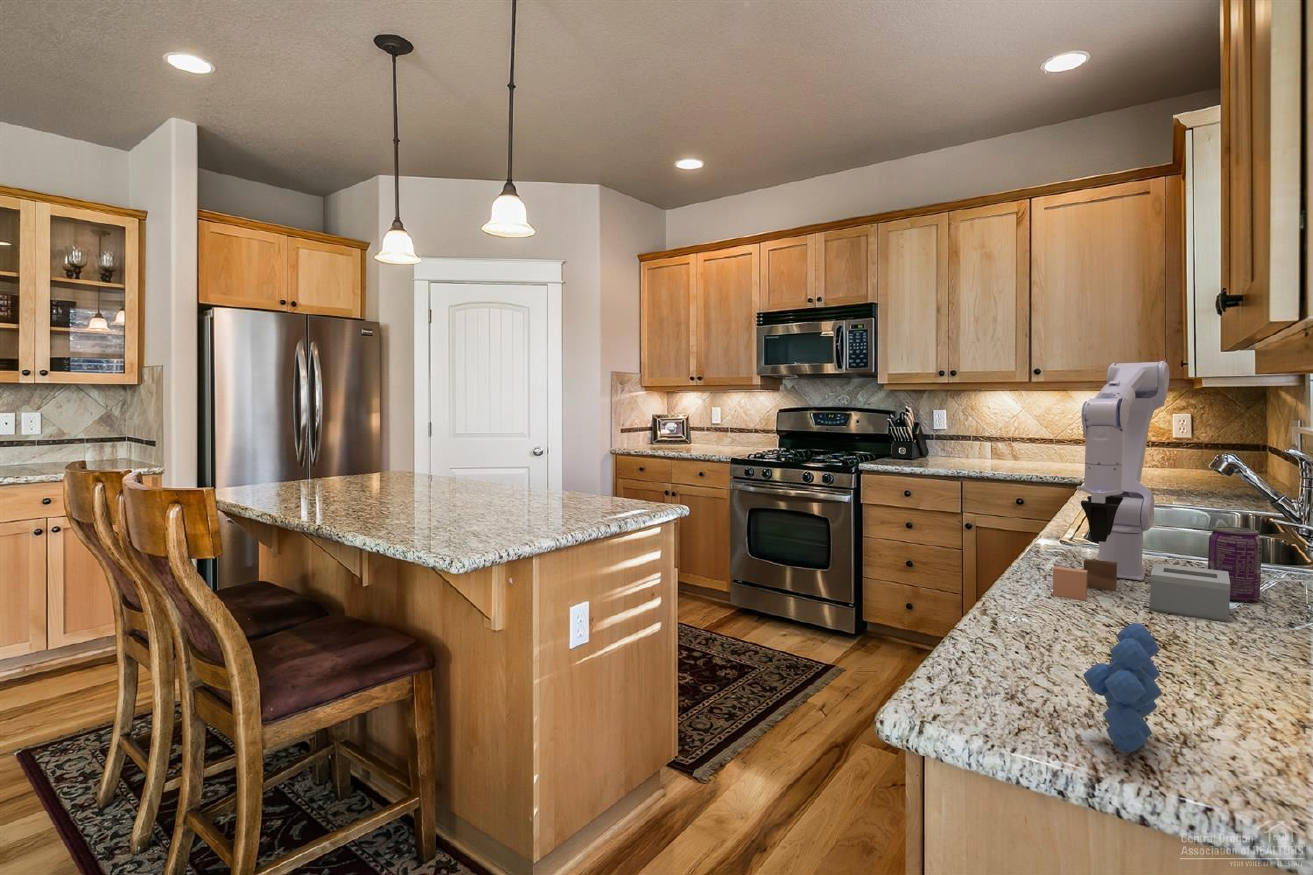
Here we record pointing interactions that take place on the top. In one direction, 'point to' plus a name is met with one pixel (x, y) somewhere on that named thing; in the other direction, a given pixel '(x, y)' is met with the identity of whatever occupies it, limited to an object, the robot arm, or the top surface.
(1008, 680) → the top surface
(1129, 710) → the grapes
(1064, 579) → the block
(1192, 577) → the coin box
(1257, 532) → the beverage can
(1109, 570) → the block
